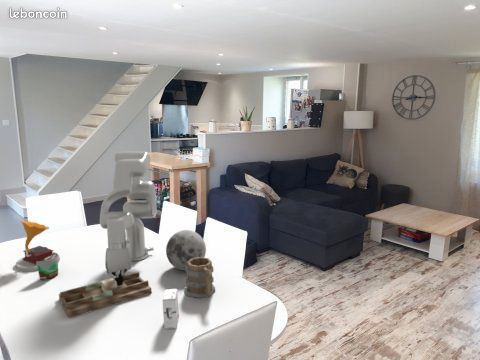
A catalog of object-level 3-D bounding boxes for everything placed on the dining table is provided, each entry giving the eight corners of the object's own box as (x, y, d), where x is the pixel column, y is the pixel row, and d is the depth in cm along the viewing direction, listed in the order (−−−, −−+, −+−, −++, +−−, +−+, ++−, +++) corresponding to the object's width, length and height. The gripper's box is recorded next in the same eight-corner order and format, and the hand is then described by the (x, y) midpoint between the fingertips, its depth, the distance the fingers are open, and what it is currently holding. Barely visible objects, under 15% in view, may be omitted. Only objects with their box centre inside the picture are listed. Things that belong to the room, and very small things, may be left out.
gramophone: (29, 274, 180) (24, 226, 176) (8, 265, 191) (2, 219, 186) (68, 260, 197) (64, 216, 193) (46, 253, 208) (42, 210, 203)
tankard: (182, 287, 168) (181, 256, 165) (208, 282, 173) (208, 252, 170) (195, 308, 150) (194, 274, 147) (224, 302, 155) (223, 269, 152)
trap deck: (136, 278, 177) (136, 269, 176) (151, 293, 162) (151, 283, 162) (59, 299, 157) (58, 289, 156) (68, 318, 142) (67, 307, 142)
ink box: (166, 316, 144) (165, 288, 142) (179, 316, 144) (178, 288, 142) (163, 329, 135) (162, 299, 133) (177, 328, 136) (176, 299, 134)
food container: (49, 282, 172) (47, 262, 170) (37, 281, 173) (35, 261, 171) (66, 271, 184) (64, 252, 182) (55, 270, 185) (53, 251, 183)
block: (113, 286, 163) (112, 277, 162) (117, 290, 159) (116, 281, 159) (101, 289, 160) (101, 280, 159) (105, 293, 156) (105, 285, 156)
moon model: (185, 257, 202) (185, 222, 198) (214, 266, 190) (213, 229, 187) (158, 270, 186) (156, 232, 182) (187, 280, 174) (186, 240, 171)
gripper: (130, 239, 166) (132, 276, 170) (97, 246, 157) (99, 285, 161) (137, 243, 160) (139, 282, 164) (102, 251, 152) (105, 292, 155)
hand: (119, 284), depth 162 cm, fingers closed
